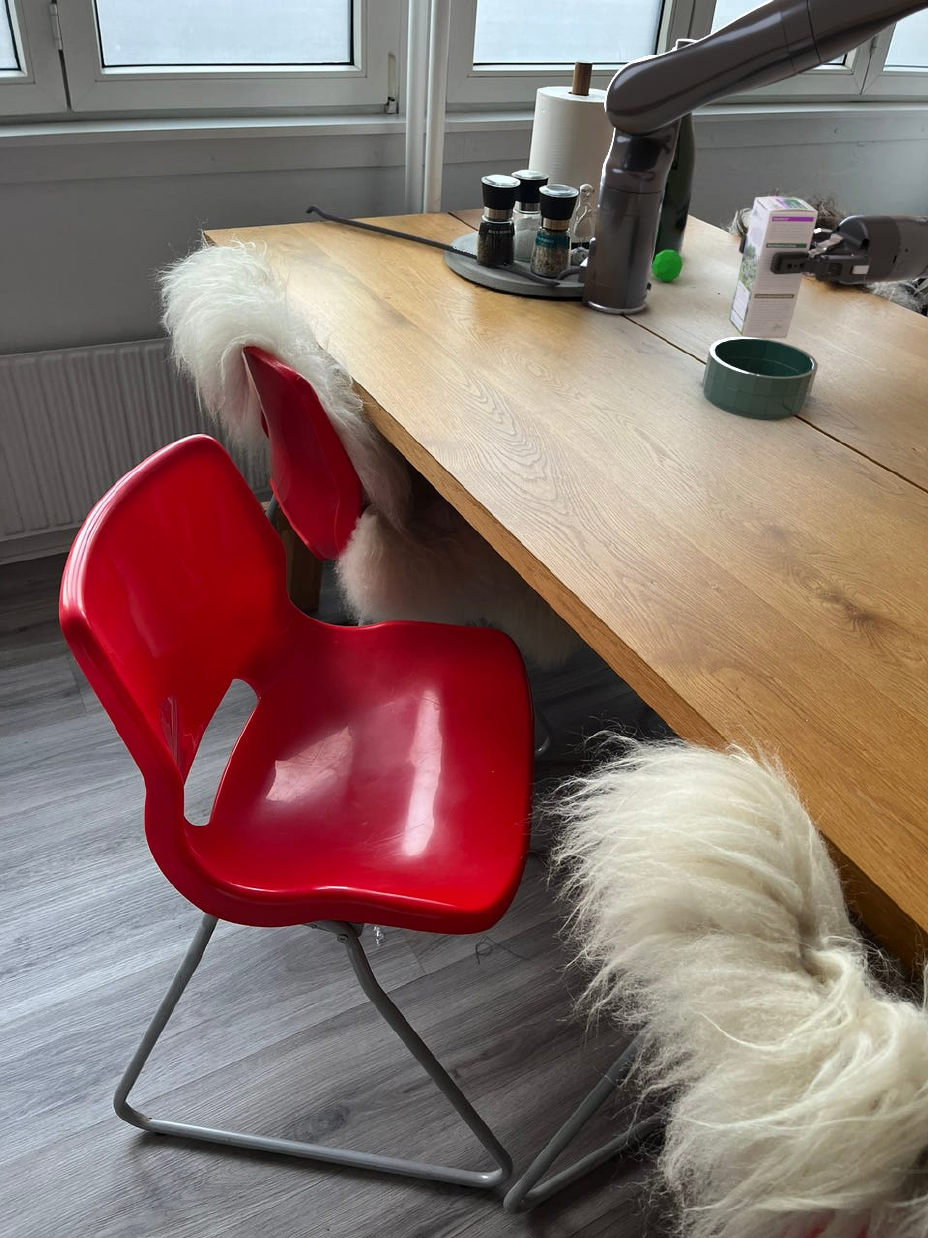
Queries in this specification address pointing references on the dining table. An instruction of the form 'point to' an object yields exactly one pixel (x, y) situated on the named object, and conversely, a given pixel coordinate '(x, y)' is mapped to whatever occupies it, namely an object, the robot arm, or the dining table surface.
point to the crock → (758, 377)
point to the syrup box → (759, 291)
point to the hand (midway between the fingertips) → (757, 253)
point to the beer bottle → (678, 184)
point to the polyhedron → (667, 265)
